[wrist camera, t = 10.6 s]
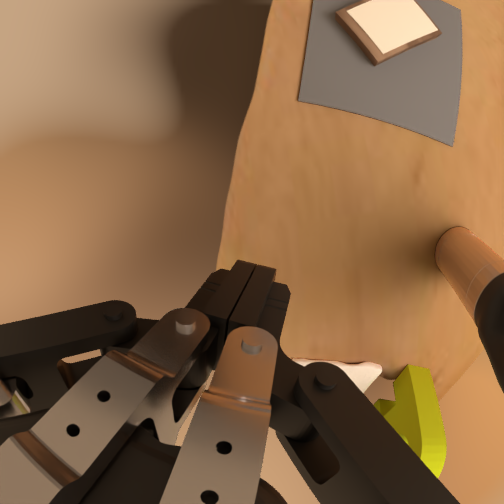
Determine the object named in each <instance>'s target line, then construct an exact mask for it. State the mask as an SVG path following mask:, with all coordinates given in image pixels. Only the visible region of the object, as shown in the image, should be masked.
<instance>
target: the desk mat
mask: <svg viewBox="0 0 504 504" xmlns="http://www.w3.org/2000/svg"><path fill="white" fill-rule="evenodd" d="M359 1H361V0H313V7H312V14H311V21H310V28H309V35H308V41H307V48H306V55H305V61H304V68H303V74H302V81H301V87H300V93H299V99H298V101H301V102H306V103H311V104H317V105H321V106H326V107H331V108H335V109H340V110H344V111H348V112H352V113H356V114H359V115H363V116H367V117H370V118H374V119H377V120H381V121H384V122H387V123H390V124H393V125H396V126H399V127H402V128H405V129H408V130H411V131H414V132H417V133H419V134H422V135H425V136H427V137H430V138H432V139H435V140H437V141H440V142H442V143H445V144H447V145H449V146H452V147H453V142H454V137H455V131H456V124H457V117H458V109H459V101H460V90H461V76H462V22H461V10H460V9H458V8H456V7H454V6H452V5H450V4H448V3H445V2H443V1H441V0H416V1H417V2H418V4H419V5H420V6H421V7H422V8H423V9H424V11H425V12H426V13H427V14H428V15H429V17H430V18H431V19H432V20H433V22H434V23H435V24H436V25H437V27H438V28H439V29H440V31H441V32H442V34H441V35H440V36H438V37H437V38H436V39H433V40H431V41H428V42H426V43H424V44H421V45H419V46H417V47H414V48H412V49H410V50H408V51H406V52H403V53H401V54H399V55H397V56H395V57H393V58H391V59H389V60H387V61H385V62H383V63H381V64H379V65H377V66H375V67H374V65H373V64H372V63H371V61H370V60H369V59H368V57H367V56H366V55H365V54H364V52H363V51H362V50H361V49H360V47H359V46H358V45H357V44H356V42H355V41H354V40H353V39H352V38H351V37H350V35H349V34H348V33H347V32H346V31H345V30H344V29H343V27H342V26H341V25H340V24H339V23H338V22H337V21H336V20H335V12H337V11H339V10H341V9H343V8H345V7H347V6H350V5H352V4H354V3H357V2H359Z"/></svg>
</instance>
